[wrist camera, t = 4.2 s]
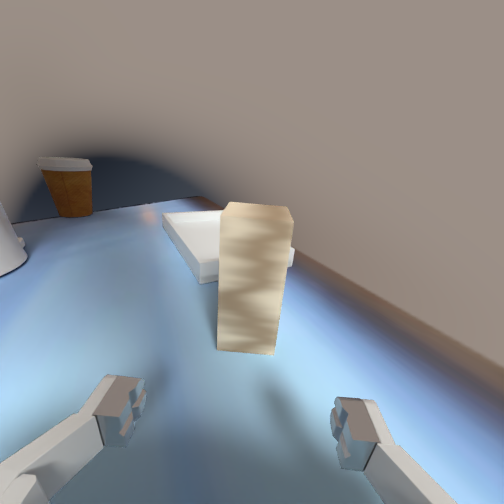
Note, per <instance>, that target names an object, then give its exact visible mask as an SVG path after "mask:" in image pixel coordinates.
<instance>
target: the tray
mask: <svg viewBox="0 0 504 504" xmlns="http://www.w3.org/2000/svg"><path fill="white" fill-rule="evenodd" d="M223 211H224V210H221V211H198V212H175V213H162V220H163V228H164V229H165V231H166V232H167V234H168V235H169V237H170V238H171V240H172V242H173V243H174V245H175V246H176V248H177V249H178V251H179V252H180V254H181V256H182V257H183V259H184V260H185V262H186V263H187V265H188V267H189V268H190V270H191V271H192V273H193V274H194V276H195V277H196V279H197V281H198V282H199V284H204V283H209V282H215V281H219V245H220V215H221V214H222V212H223ZM294 250H295V249H294V248H292V247H290V252H289V259H288V266H287V267H291V266H292V262H293V256H294Z"/></svg>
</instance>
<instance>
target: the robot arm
mask: <svg viewBox="0 0 504 504" xmlns="http://www.w3.org/2000/svg"><path fill="white" fill-rule="evenodd" d="M24 246H25V242H24V240H23V238H21V237H17V236H16V233H15V231H14V229H13V227H12V225H11V223H10V221H9V219H8V217H7V214H6V212H5V210H4V208H3V206H2V204H1V202H0V276H1V275H3V274H5V273H8V272H10V271H12V270H13V269H15V268H17V267H18V266H20V265H21V264H22V263H24V262H25V260H26V259H27V253H26V252H25V251H24V249H23V247H24ZM144 385H145V381H144V379H142V378H134V377H125V376H117V375H106V376H105V377H104V378H103V379H102V380H101V382H100V383H99V384H98V386H97V387H96V388H95V390H94V391H93V393H92V394H91V395H90V397H89V398H88V400H87V401H86V402H85V404H84V405H83V407H82V408H81V409H80V411H79V412H78V413H77V414H72V415H71V416H69V417H68V418H66V419H65V420H63V421H62V422H60V423H59V424H57V425H56V426H54V427H53V428H51V429H50V430H49V431H47V432H46V433H44V434H43V435H41V436H40V437H38V438H37V439H35V440H34V441H32V442H31V443H29V444H28V445H26V446H25V447H24V448H22V449H21V450H19V451H18V452H16V453H15V454H13V455H12V456H10V457H9V458H7V459H6V460H4V461H3V462H1V463H0V504H50V502H49V500H50V499H51V498H52V497H53V496H54V495H55V494H56V493H57V492H58V491H59V490H60V489H62V488H63V487H64V486H65V485H66V484H67V483H68V482H69V481H70V480H71V479H72V478H73V477H74V476H75V475H76V474H77V473H78V472H79V471H80V470H81V469H82V468H83V467H84V466H85V465H86V464H87V463H88V462H89V461H90V460H91V459H93V458H94V457H95V456H96V455H97V454H98V453H99V452H100V451H101V450H102V449H103V448H104V446H110V447H126V446H127V444H128V442H129V440H130V438H131V436H132V434H133V432H134V429H135V427H134V422H135V421H136V420H137V419H138V418H140V417H141V414H142V412H143V410H144V407H145V403H146V397H147V395H146V391H145V390H144V389H143V387H144ZM334 404H335V408H333V409H332V411H331V414H330V424H331V430H332V435H333V437H334V438H335V439H336V440H337V441H338V444H337V447H336V451H337V455H338V458H339V462H340V466H341V469H347V470H355V471H362V472H364V475H365V476H366V478H367V479H368V481H369V482H370V483H371V485H372V486H373V488H374V489H375V491H376V492H377V493H378V495H379V496H380V498H381V499H382V501H383V502H384V503H385V504H457V503H456V502H455V501H454V500H453V499H452V498H451V497H450V496H449V495H448V494H447V493H446V492H445V491H444V490H443V489H442V488H441V487H440V486H439V485H438V484H437V483H436V482H435V481H434V480H433V479H432V478H431V477H430V476H429V475H428V474H427V473H426V472H425V471H424V469H423V468H422V467H421V466H420V465H419V464H418V463H417V462H416V461H415V460H414V459H413V458H412V457H411V456H410V455H409V454H408V453H407V452H406V451H405V450H404V449H403V448H402V447H401V446H400V445H395V442H394V440H393V438H392V436H391V434H390V432H389V429H388V427H387V425H386V423H385V421H384V419H383V417H382V414H381V412H380V410H379V408H378V406H377V404H376V402H375V401H374V400H367V399H360V398H347V397H336V398H335V401H334Z"/></svg>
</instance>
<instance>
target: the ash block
mask: <svg viewBox="0 0 504 504" xmlns="http://www.w3.org/2000/svg"><path fill="white" fill-rule="evenodd" d="M293 225H294V221H293V219H292V216H291V214H290V212H289V210H288V208H287V207H284V206H272V205H260V204H248V203H237V202H229V204H228V205H227V207H226V208H225V209H224V211H223V212H222V214H221V215H220V245H219V286H218V327H217V350H220V351H231V352H242V353H253V354H264V355H274V352H275V346H276V339H277V332H278V326H279V319H280V312H281V306H282V299H283V292H284V286H285V279H286V272H287V266H288V259H289V252H290V246H291V239H292V232H293Z"/></svg>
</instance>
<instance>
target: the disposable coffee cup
mask: <svg viewBox="0 0 504 504" xmlns="http://www.w3.org/2000/svg"><path fill="white" fill-rule="evenodd" d="M37 166H39V169H41V171H42V173H43V176H44V178H45V181H46V183H47V185H48V188H49V190H50V193H51V196H52V198H53V201H54V203H55V205H56V208H57V210H58V213H59V215H60V216H62V217H83V216H88V215H91V214H92V213H93V212H92V190H91V189H92V188H91V170H92V166H91V164H90V162H89V160H87V159H77V158H61V157H60V158H59V157H39V158H38V164H37Z"/></svg>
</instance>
